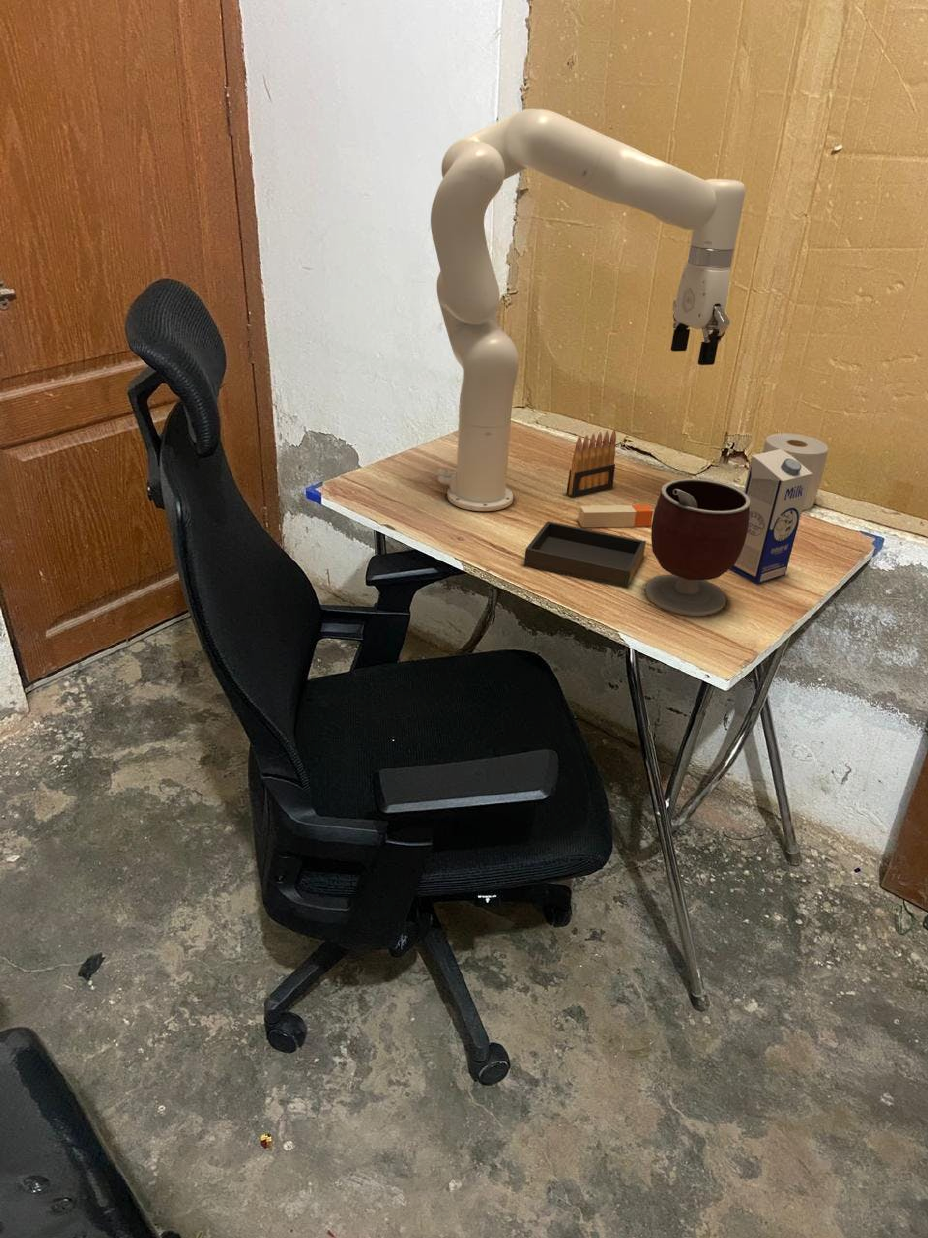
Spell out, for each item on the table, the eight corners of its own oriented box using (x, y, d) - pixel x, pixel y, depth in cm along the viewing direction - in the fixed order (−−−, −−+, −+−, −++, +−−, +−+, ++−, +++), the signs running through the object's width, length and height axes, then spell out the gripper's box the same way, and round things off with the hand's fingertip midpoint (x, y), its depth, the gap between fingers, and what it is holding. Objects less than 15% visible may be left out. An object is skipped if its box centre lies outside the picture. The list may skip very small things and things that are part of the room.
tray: (523, 565, 143) (525, 548, 141) (545, 536, 153) (547, 520, 151) (627, 588, 137) (630, 571, 136) (643, 556, 147) (646, 541, 146)
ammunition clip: (572, 497, 168) (579, 438, 162) (565, 494, 170) (572, 435, 164) (612, 488, 174) (621, 430, 168) (606, 485, 175) (614, 427, 169)
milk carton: (754, 558, 149) (781, 447, 139) (785, 575, 144) (816, 460, 134) (725, 567, 145) (751, 453, 135) (756, 584, 141) (786, 468, 130)
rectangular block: (582, 527, 157) (584, 511, 155) (577, 520, 159) (579, 505, 158) (650, 526, 159) (653, 510, 157) (645, 519, 161) (647, 504, 160)
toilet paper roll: (783, 484, 180) (797, 430, 174) (827, 506, 171) (843, 449, 165) (739, 491, 175) (751, 436, 169) (782, 514, 166) (797, 457, 160)
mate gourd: (674, 567, 145) (696, 453, 134) (747, 599, 136) (776, 480, 126) (616, 595, 135) (635, 474, 125) (691, 632, 127) (718, 505, 116)
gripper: (666, 250, 157) (651, 346, 166) (718, 266, 143) (698, 370, 152) (702, 250, 159) (685, 345, 168) (756, 266, 145) (735, 369, 154)
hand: (691, 357), depth 160 cm, fingers open, 9 cm apart
